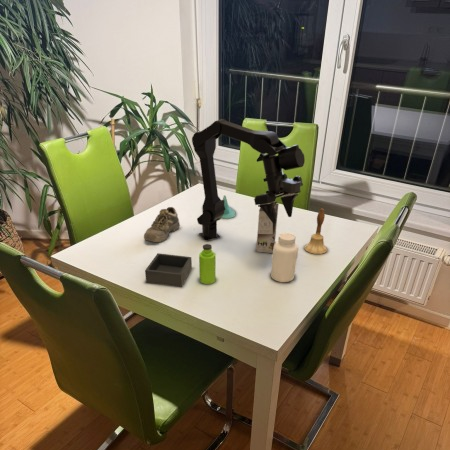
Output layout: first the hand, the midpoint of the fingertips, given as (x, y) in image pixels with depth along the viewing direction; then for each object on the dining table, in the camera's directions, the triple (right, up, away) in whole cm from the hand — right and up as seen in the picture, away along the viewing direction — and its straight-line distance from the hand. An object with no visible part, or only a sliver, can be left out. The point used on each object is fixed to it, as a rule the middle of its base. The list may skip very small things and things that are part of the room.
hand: (282, 220), depth 139 cm
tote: (-38, -19, -1) cm, 42 cm away
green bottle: (-25, -20, -3) cm, 33 cm away
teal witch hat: (-22, +13, +47) cm, 54 cm away
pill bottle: (0, -19, 0) cm, 19 cm away
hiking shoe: (-45, -1, +25) cm, 51 cm away
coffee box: (-4, -7, +18) cm, 19 cm away
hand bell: (+15, -8, +17) cm, 24 cm away
